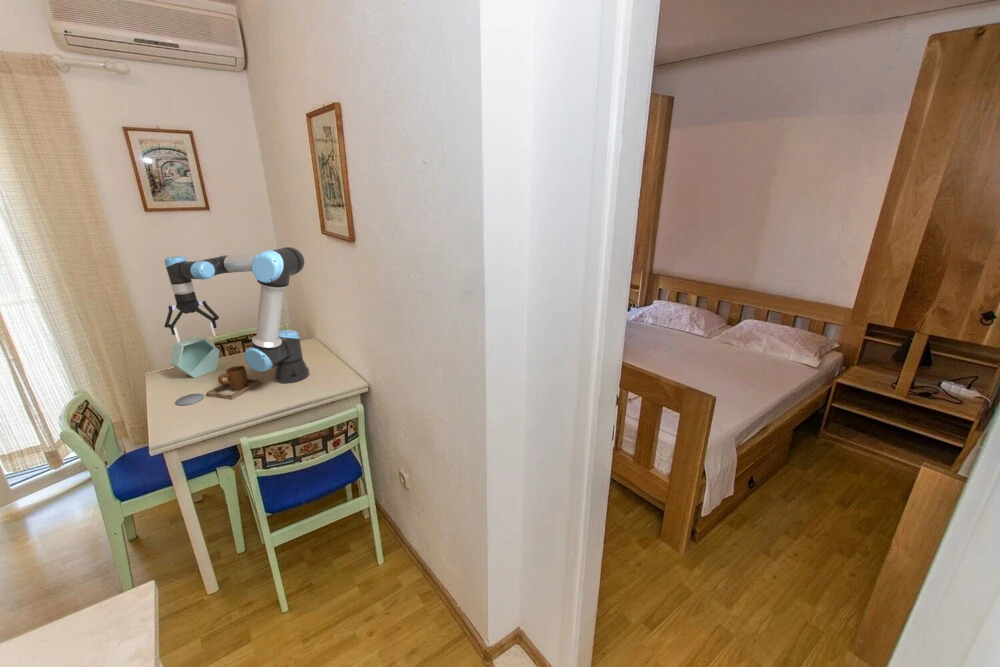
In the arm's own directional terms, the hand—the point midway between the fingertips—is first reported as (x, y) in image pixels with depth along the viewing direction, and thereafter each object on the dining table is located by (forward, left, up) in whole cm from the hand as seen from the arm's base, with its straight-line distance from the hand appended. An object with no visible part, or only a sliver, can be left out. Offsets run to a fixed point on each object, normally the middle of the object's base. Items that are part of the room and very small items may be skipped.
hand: (197, 338), depth 197 cm
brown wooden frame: (-18, +3, -22) cm, 29 cm away
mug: (-18, +3, -23) cm, 29 cm away
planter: (+15, -8, -23) cm, 28 cm away
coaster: (-7, +16, -22) cm, 28 cm away
